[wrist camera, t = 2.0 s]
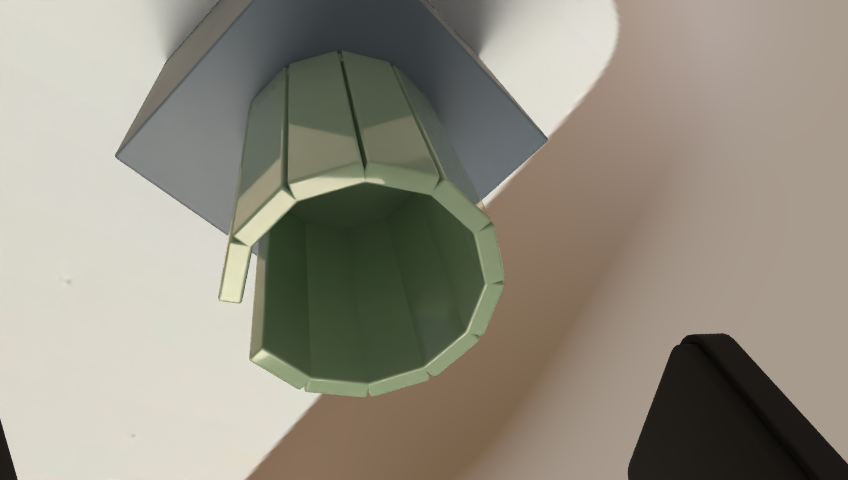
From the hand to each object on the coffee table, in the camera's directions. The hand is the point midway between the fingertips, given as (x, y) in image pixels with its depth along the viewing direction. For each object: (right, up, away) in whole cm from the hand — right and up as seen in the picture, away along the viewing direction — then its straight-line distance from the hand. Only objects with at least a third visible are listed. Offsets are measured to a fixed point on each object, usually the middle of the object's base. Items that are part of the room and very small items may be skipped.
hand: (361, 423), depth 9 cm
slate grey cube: (-3, +9, +15) cm, 17 cm away
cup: (-1, +5, +8) cm, 9 cm away
